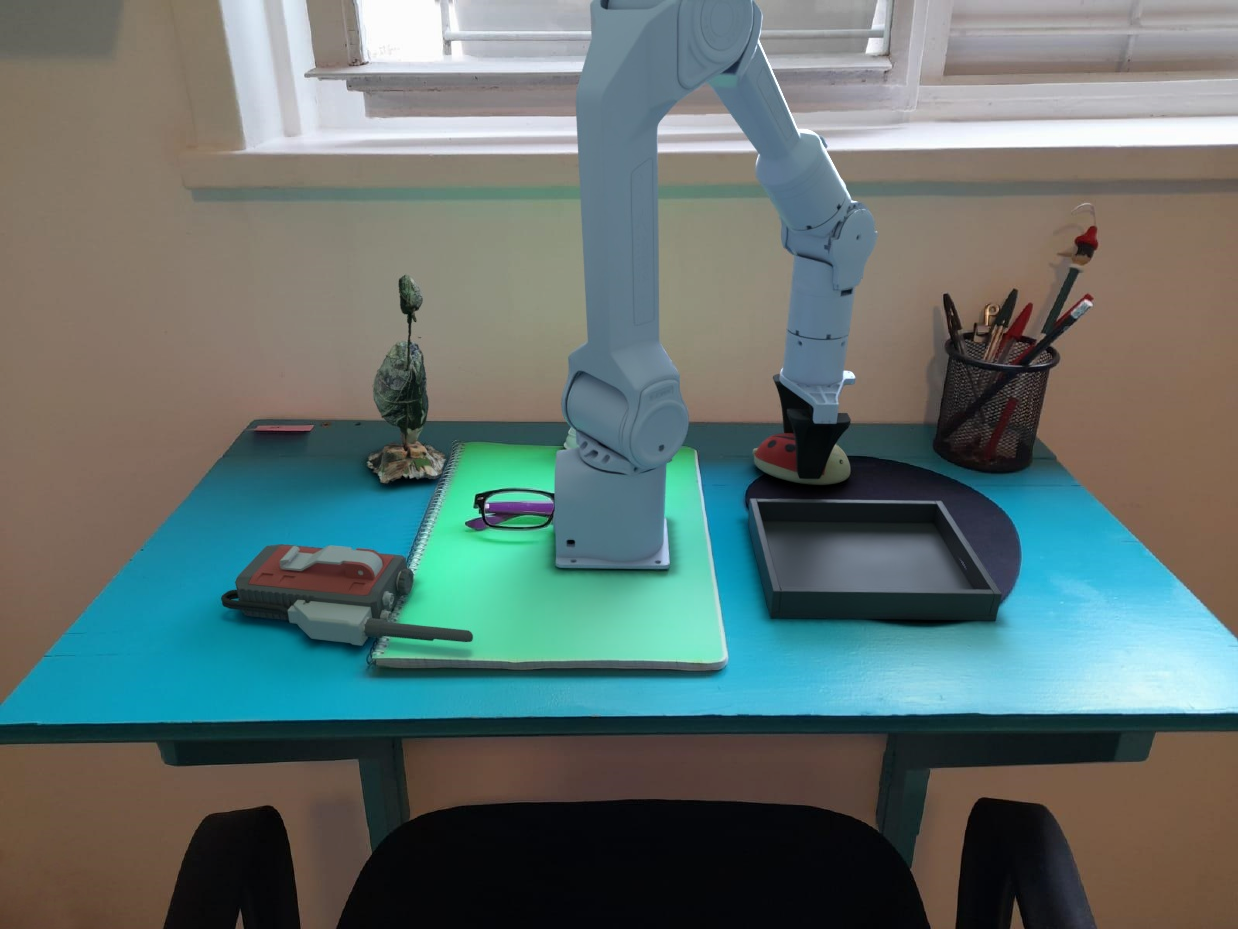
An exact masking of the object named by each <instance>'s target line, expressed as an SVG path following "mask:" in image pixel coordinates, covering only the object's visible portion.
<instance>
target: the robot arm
mask: <svg viewBox="0 0 1238 929" xmlns="http://www.w3.org/2000/svg"><path fill="white" fill-rule="evenodd" d="M589 9H590V10H589V11H590V12H589V14H590V33H591V34H590V35H591V36H590V38H591V39H590V42H589V45H588V49H587V52H586V55H585V59H584V62H583V63H584V64H583V66H582V69H581V73H580V76H579V79H578V82H577V87H576V91H575V120H576V136H577V156H578V176H579V179H578V180H579V194H580V195H579V196H580V198H579V199H580V217H581V233H582V234H581V235H582V236H581V237H582V254H583V256H582V257H583V273H584V274H583V275H584V294H585V312H586V331H587V332H586V334H587V340H586V341H584V342H583V343H581V345H579V346H577V348H575V349H574V350H573V351H572V352H571V353H570V354H568V356H567V363H568V373H567V379H566V381H565V385H564V388H563V390H562V395H561V399H560V400H561V401H560V407H561V413H562V416H563V419H564V420H565V422H566V423H567V425H568V426H569V427H570V428H571V427H572V428H573V429H575V430H576V444H578V445H579V447H577V448H572V449H566V448H565V449H559V450H557V451H556V454H555V464H554V492H553V493H554V494H553V495H554V497H553V498H554V511H553V516H552V517H553V518H552V523H553V524H552V528H553V529H552V530H553V532H554V534H555V535H554V536H555V566H556V567H557V568H559V569H610V570H611V569H613V570H614V569H618V570H621V569H622V570H624V569H625V570H668V569H670V566H671V558H670V545H669V532H668V518H666V517H665V516H666V493H667V492H666V490H667V485H666V484H667V467H668V466H667V465H668V464H669V463H671V462H673V458H674V457H675V456H676V455H677V453H678V452H679V451H680V450H681V448H682V446H683V444H684V442H685V440H686V437H687V434H688V431H689V426H690V413H689V410H688V405H687V404H686V402H685V401H684V398H683V395H682V392H681V374H680V372H679V371H678V369H677V368H676V366H675V364H674V362H673V361H672V358H671V357H670V356H669V355H668V353H667V351H666V350H665V348H664V347H663V344H662V343H661V340H660V266H659V265H660V264H659V261H660V260H659V259H660V258H659V257H660V256H659V255H660V253H659V252H660V249H659V248H660V247H659V246H660V245H659V240H660V239H659V151H658V150H659V144H658V143H659V142H658V141H659V140H658V136H659V135H658V134H659V132H658V128H659V124H660V122H661V121H662V120H663V118H664V117H666V115H667V114H668V113H669V112H670V111H671V110H672V108H674V106H675V105H676V104H677V103H678V102H679V101H681V100H683V99H684V98H685V97H687V96H688V95H690V94H692V93H693V92H695V91H696V90H698V89H699V88H701V87H702V86H704V85H705V84H706V85H708V86H710V88H711V89H712V90H713V91H714V93H715V95H716V96H717V97H718V99H719V100H720V102H721V103H722V105H723V106H724V108H725V109H726V110H727V112H728V113H729V115H730V116H731V117H732V119H733V120H734V121H735V122H736V124H737V125H738V126H739V128H740V129H741V131H742V132H743V134H744V135H745V137H746V138H747V139H748V141H749V142H750V144H751V145H752V146H753V148H754V149H755V150H756V152H757V153H758V155H757V158H756V161H755V166H754V173H755V177H756V179H757V181H758V182H759V185H760V186H761V188H762V189H763V191H764V193H765V194H766V195H767V197H768V199H769V201H770V202H771V203H772V205H773V207H774V209H775V210H776V211H777V213H778V215H779V217H778V219H779V221H780V224H781V227H780V241H781V244H782V248H783V249H785V250H786V251H787V252H788V253H789V254H790V255H792V256H793V262H792V273H791V282H790V292H789V303H788V311H787V321H786V322H787V324H786V332H785V341H784V352H783V360H782V361H783V362H782V368H781V369H780V372H779V373H777V374H774V375H773V376H772V380H773V382H774V384H775V387H776V389H777V393H778V396H779V401H780V406H781V415H782V427H783V433H794V437H795V445H796V467H797V472H798V476H799V478H800V479H820V478H821V476H822V474H823V471H824V469H825V467H826V464H827V462H828V459H829V456H830V454H831V452H832V450H833V448H834V446H835V444H836V445H837V443H838V441H839V439H840V438H841V436H842V435H843V434H844V433H845V432H846V431H847V430H848V429H849V427H850V425H851V421H852V419H851V416H850V415H849V414H848V412H839V409H840V402H839V399H840V396H841V394H842V392H843V389H844V387H845V386H853V385H855V384H856V378H857V377H856V376H855V374H854V373H853V371H850V370H845V366H846V357H847V351H848V344H849V338H850V337H849V335H850V329H851V324H852V323H851V322H852V315H853V307H854V301H855V294H856V293H855V292H856V287H859V285H860V284H861V281H862V280H863V278H864V272H865V266H866V264H867V262H868V260H869V258H870V256H871V255H872V253H873V251H874V248H875V246H876V242H877V240H878V235H879V232H878V231H877V230H876V221H875V217H874V216H873V214H872V213H871V211H870V210H869V208H868V207H867V205H866V204H864V203H863V202H859V201H856V200H852V197H851V195H850V192H849V190H847V185H846V183H845V181H844V179H843V178H841V176H840V174H839V172H838V170H837V168H836V166H835V164H834V163H833V161H832V159H831V157H830V155H829V153H828V151H827V148H828V143H827V141H826V139H825V137H824V136H823V135H822V134H821V135H820V134H817V133H816V132H814V131H813V130H809V129H806V128H798V126H797V124H796V121H795V119H794V118H793V115H792V113H791V110H790V108H789V106H788V103H787V101H786V99H785V97H784V94H783V92H782V89H781V87H780V85H779V82H778V80H777V78H776V75H775V72H773V69H772V66H771V64H770V62H769V60H768V58H767V55H766V53H765V50H764V48H763V46H762V43H761V42H760V36H761V33H762V26H763V15H764V14H763V11H762V9H761V8H760V7H759V5H758V4H757V2H756V1H755V0H592V1H591V2H590V5H589Z"/></svg>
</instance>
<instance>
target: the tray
mask: <svg viewBox="0 0 1238 929" xmlns="http://www.w3.org/2000/svg"><path fill="white" fill-rule="evenodd" d="M747 514H748V515H747V525H748V529H749V533H750V538H751V543H752V547H753V551H754V554H755V559H756V564H757V568H758V571H759V575H760V580H761V584H762V587H763V592H764V597H765V600H766V604H767V605H766V606H767V609H768V613H769V614H768V615H769V617H770V619H828V620H830V619H831V620H839V619H840V620H847V619H848V620H902V621H903V620H904V621H905V620H906V621H907V620H910V621H913V620H914V621H916V620H917V621H922V620H923V621H982V622H983V621H985V622H987V621H989V622H991V621H993V622H995V621H996V619H997V615H998V612H999V608H1000V604H1001V600H1002V597H1003V593H1002V591H1001V590H1000V589H999V587H998V585H997V584H996V582H995V581H994V580H993V578H992V576H991V575H990V573H989V572H988V570H987V568H986V567H985V566H984V564H983V563H982V561H981V559H980V558H979V556H978V555H977V553H976V551H975V550H974V549H973V547H972V546H971V544H970V543H969V541H968V540H967V538H966V537H965V535H964V533H963V531H962V530H961V529H960V527H959V525H958V524H957V522H956V521H955V519H954V518H953V516H952V514H951V513H950V512H949V510H948V509H947V507H946V506H945V504H944V503H943V501H942V500H904V499H903V500H902V499H901V500H898V499H825V498H824V499H823V498H822V499H821V498H819V499H815V498H814V499H813V498H809V499H808V498H804V499H803V498H749V502H748V512H747ZM957 556H958V557H959V558H961V560H962V561H963V562H964V564H965V566H966V568H967V571H968V572H969V574H968V573H967V571H966V570H965V568H964V566H963V565H962V563H961V561H960V560H959V558H958V557H957ZM969 575H970V576H969Z"/></svg>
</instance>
